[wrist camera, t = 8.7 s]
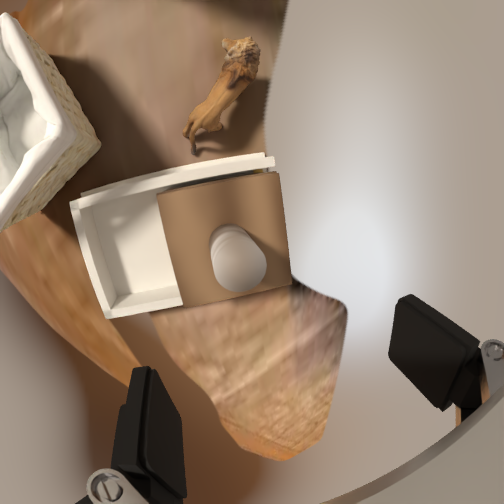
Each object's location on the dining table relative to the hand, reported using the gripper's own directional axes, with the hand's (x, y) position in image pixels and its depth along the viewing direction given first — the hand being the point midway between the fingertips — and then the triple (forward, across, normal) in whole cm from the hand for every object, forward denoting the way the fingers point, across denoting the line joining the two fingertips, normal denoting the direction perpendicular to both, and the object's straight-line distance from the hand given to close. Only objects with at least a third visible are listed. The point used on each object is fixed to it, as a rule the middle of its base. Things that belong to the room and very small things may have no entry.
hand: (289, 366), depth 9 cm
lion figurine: (+29, -2, -16) cm, 33 cm away
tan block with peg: (+27, 0, +1) cm, 27 cm away
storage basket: (+29, +24, -20) cm, 42 cm away
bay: (+28, +5, +1) cm, 29 cm away
